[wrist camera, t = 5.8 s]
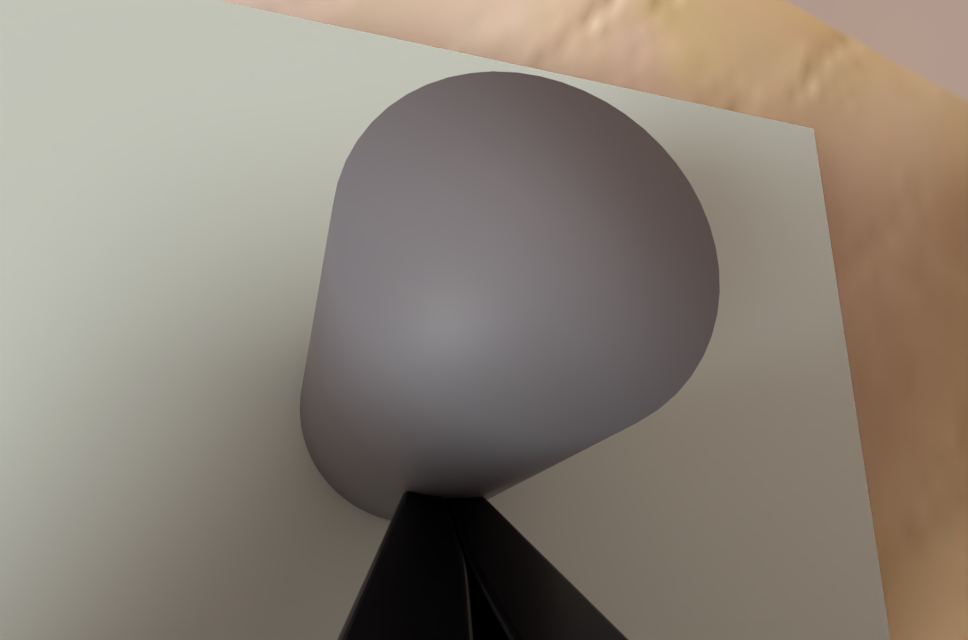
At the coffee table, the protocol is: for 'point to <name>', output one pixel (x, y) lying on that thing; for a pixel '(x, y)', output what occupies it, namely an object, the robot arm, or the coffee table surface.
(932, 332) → the coffee table surface
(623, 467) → the box lid
